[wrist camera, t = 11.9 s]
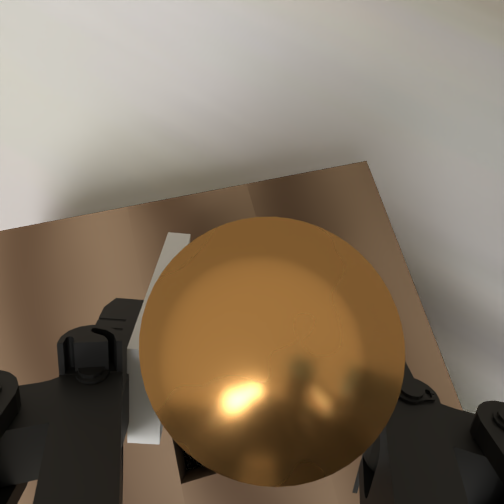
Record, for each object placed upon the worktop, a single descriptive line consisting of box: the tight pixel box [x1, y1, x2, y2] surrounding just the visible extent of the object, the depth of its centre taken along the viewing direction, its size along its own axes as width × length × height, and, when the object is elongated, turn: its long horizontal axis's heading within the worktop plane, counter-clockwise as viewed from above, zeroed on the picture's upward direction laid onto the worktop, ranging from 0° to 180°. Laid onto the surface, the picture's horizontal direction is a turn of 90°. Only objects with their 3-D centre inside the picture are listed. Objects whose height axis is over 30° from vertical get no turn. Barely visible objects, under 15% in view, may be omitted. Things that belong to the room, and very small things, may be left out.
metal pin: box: [139, 217, 405, 487], centre depth 14 cm, size 4×4×14 cm
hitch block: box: [0, 161, 463, 504], centre depth 19 cm, size 16×16×5 cm
